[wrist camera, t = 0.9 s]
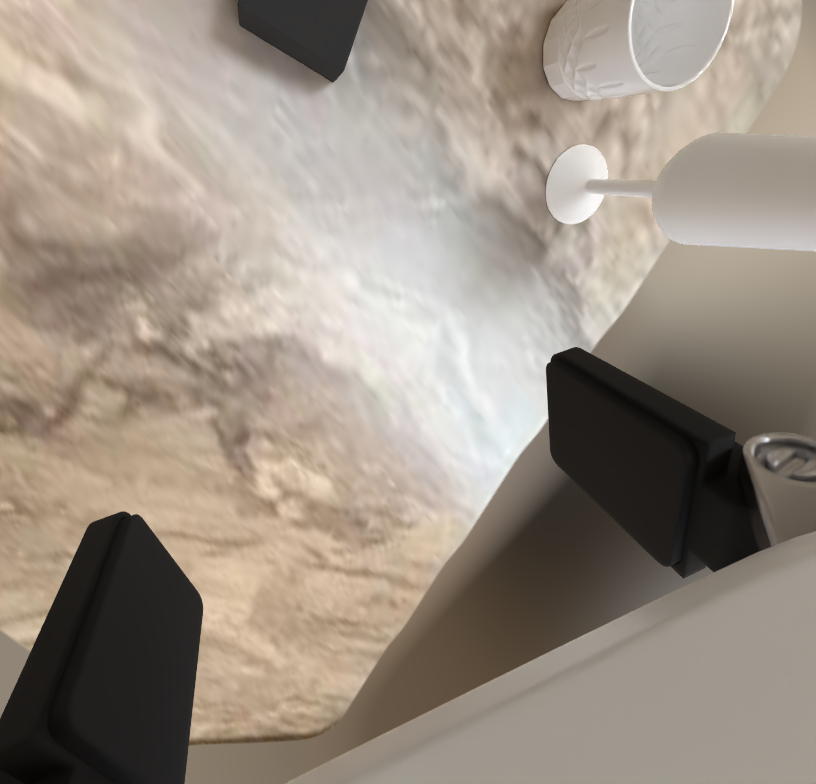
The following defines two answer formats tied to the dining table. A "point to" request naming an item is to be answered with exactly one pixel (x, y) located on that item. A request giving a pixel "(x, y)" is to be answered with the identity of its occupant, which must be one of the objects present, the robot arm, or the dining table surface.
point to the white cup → (631, 46)
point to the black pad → (306, 29)
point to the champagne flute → (707, 190)
